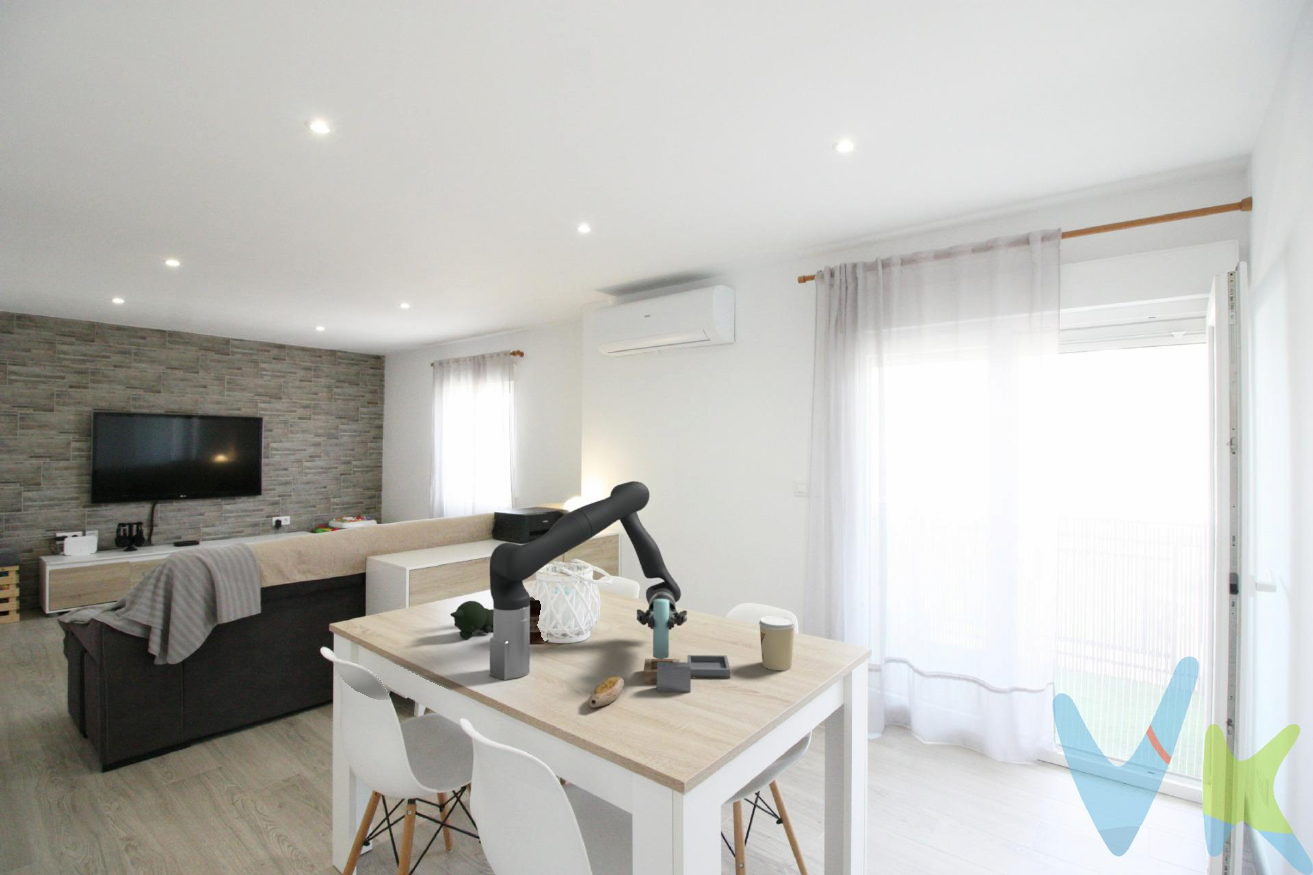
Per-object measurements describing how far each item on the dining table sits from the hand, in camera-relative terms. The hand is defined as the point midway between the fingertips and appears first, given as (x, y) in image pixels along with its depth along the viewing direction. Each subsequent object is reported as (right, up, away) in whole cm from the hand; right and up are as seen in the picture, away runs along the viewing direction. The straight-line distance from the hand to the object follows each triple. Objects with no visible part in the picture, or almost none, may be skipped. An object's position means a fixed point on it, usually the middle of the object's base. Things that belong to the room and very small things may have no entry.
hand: (661, 625), depth 150 cm
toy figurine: (-56, -15, +39) cm, 70 cm away
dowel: (0, -9, +2) cm, 9 cm away
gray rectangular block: (+3, -14, -5) cm, 15 cm away
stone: (-13, -14, -11) cm, 22 cm away
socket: (0, -14, +3) cm, 14 cm away
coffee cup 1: (-37, -15, +31) cm, 51 cm away
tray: (+12, -14, +7) cm, 20 cm away
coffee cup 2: (+31, -14, +11) cm, 36 cm away
